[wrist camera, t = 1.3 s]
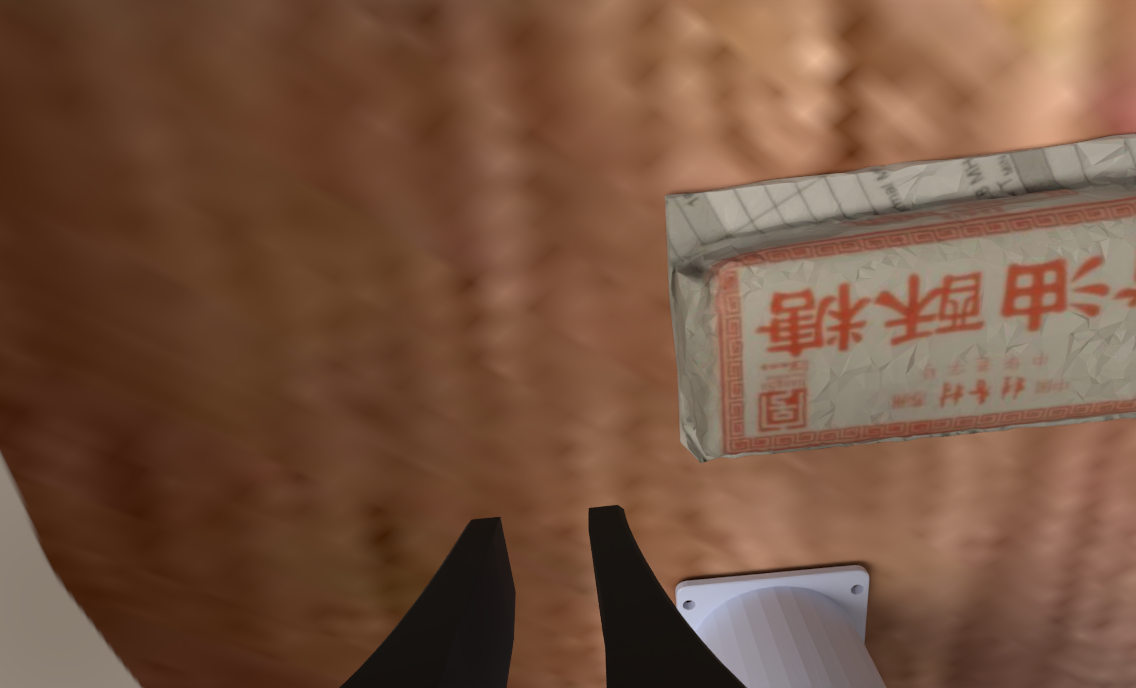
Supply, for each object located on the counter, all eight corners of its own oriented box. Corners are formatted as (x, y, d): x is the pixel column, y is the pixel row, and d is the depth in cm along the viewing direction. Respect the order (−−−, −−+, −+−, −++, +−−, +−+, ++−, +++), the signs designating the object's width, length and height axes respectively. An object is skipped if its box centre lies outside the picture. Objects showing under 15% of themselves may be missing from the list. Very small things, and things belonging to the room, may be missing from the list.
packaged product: (700, 524, 20) (682, 220, 17) (677, 444, 25) (658, 190, 21) (1286, 465, 19) (1411, 127, 16) (1152, 393, 24) (1223, 116, 20)
